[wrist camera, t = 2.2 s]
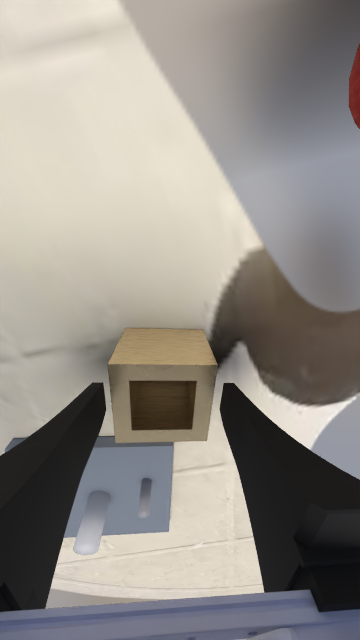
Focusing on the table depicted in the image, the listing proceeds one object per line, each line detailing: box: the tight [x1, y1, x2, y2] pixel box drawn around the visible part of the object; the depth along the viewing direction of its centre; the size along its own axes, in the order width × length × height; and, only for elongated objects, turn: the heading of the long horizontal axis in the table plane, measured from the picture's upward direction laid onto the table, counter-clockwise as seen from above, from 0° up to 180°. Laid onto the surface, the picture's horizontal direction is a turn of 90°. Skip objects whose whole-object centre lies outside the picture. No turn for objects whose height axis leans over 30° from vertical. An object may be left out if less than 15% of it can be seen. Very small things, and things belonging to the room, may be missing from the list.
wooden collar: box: [108, 328, 218, 443], centre depth 13 cm, size 6×7×4 cm
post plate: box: [5, 437, 173, 555], centre depth 18 cm, size 14×14×4 cm
